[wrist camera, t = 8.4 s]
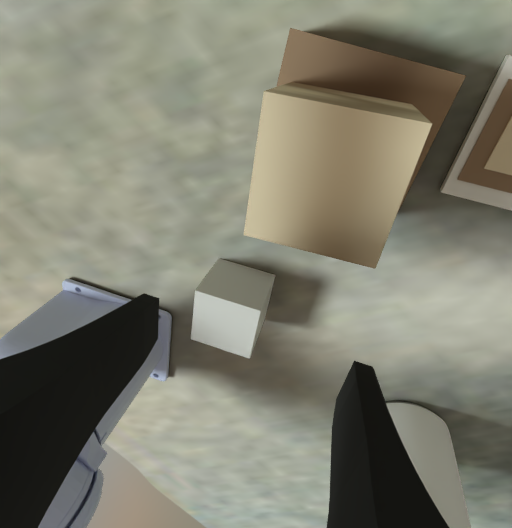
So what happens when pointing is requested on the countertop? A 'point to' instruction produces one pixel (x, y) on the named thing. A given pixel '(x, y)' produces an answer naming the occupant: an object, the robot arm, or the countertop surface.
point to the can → (432, 458)
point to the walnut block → (371, 78)
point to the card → (487, 148)
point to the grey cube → (231, 307)
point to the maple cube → (332, 170)
